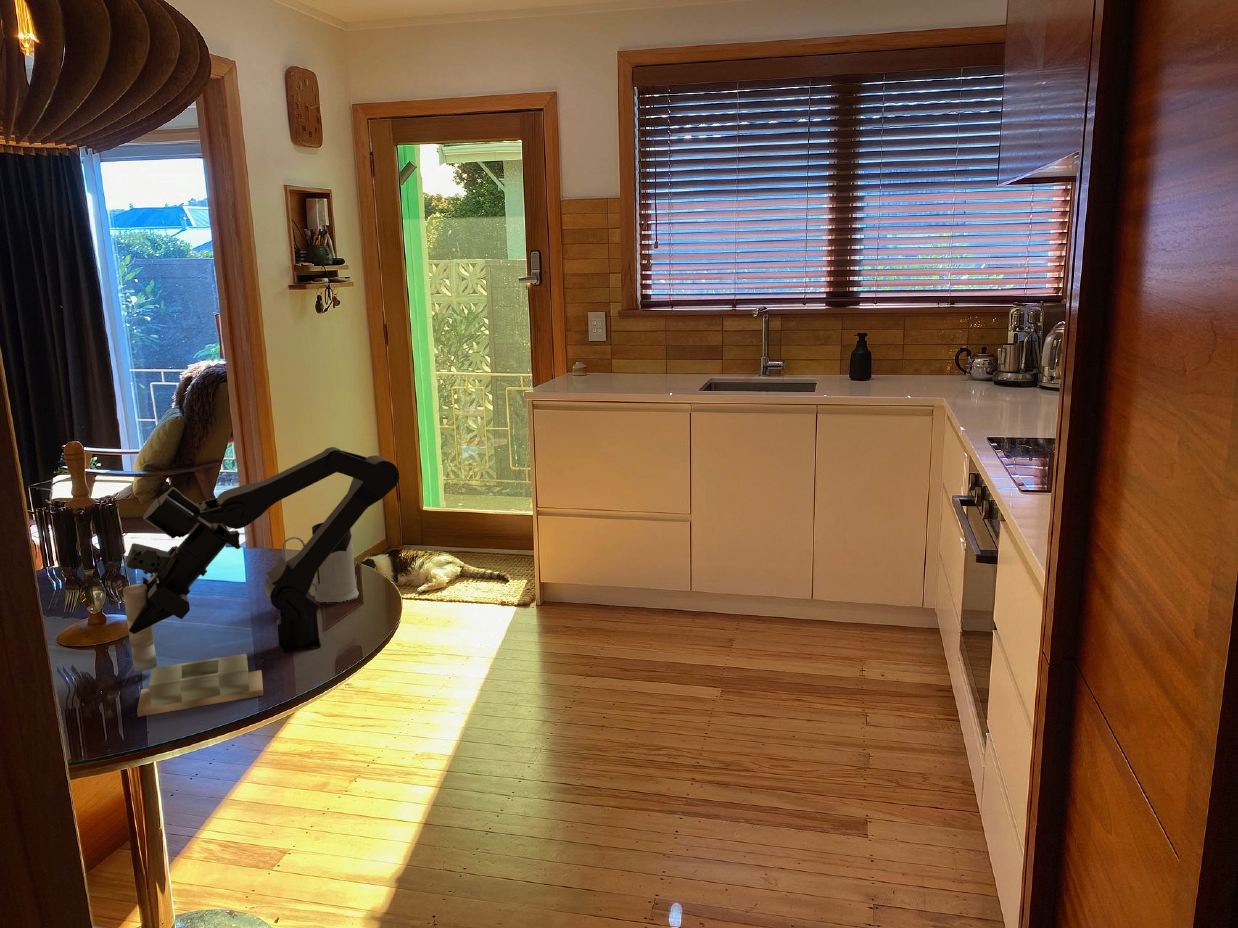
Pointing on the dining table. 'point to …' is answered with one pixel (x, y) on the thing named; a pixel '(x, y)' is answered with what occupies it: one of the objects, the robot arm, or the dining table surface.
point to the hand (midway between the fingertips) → (130, 628)
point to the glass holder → (335, 572)
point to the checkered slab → (199, 684)
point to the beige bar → (144, 639)
